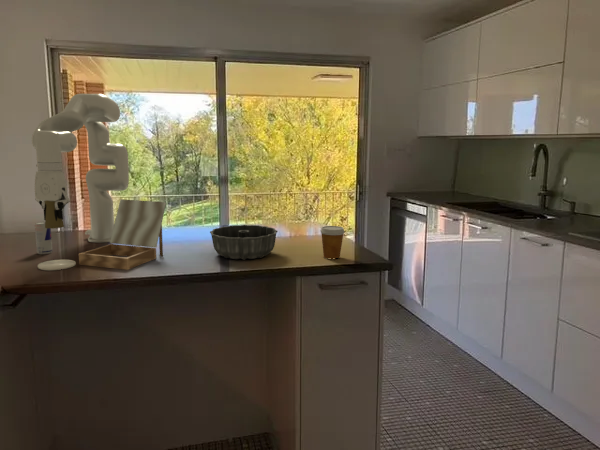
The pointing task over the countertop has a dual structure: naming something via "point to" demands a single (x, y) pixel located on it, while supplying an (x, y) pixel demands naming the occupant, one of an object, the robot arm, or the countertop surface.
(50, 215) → the cork
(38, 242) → the energy drink
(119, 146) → the robot arm
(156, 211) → the cold frame
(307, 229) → the countertop surface
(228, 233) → the bundt pan
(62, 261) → the saucer
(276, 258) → the countertop surface
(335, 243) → the disposable coffee cup
